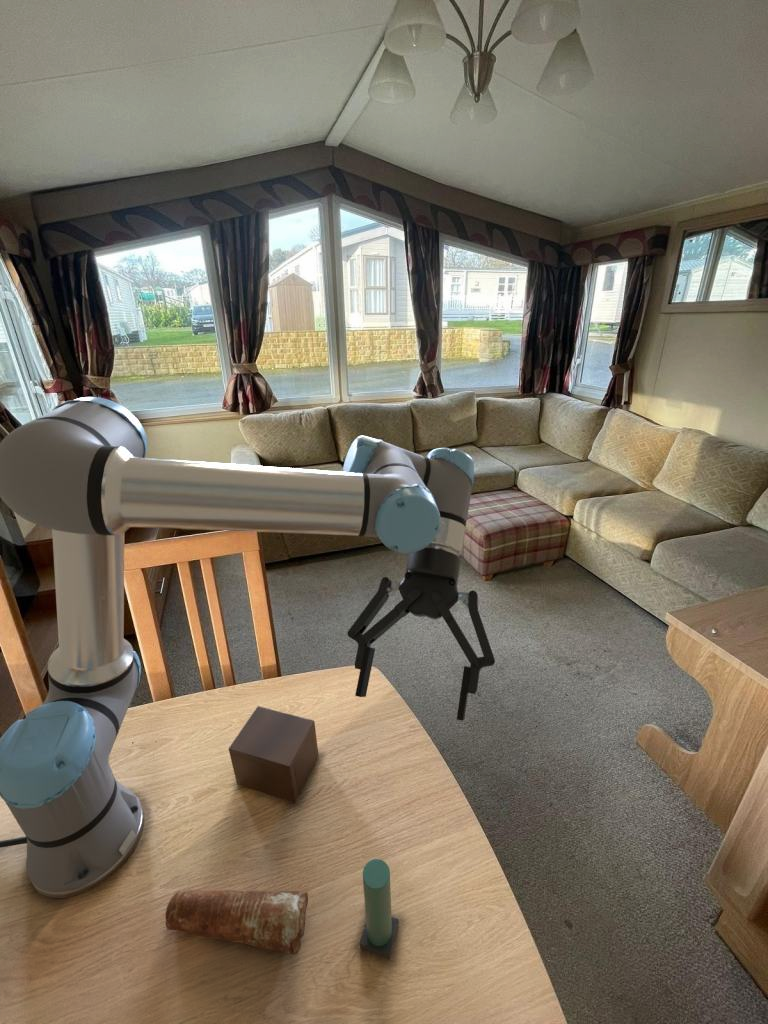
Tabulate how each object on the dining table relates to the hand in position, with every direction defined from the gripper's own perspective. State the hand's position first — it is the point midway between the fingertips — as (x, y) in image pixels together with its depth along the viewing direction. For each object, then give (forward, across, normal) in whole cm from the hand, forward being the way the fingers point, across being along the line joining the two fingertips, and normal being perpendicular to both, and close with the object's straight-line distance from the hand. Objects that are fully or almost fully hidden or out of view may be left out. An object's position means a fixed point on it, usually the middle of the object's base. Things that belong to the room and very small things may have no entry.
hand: (408, 707), depth 63 cm
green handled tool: (+28, 0, +8) cm, 29 cm away
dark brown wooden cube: (+16, -24, +20) cm, 35 cm away
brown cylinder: (+32, -18, +4) cm, 37 cm away
